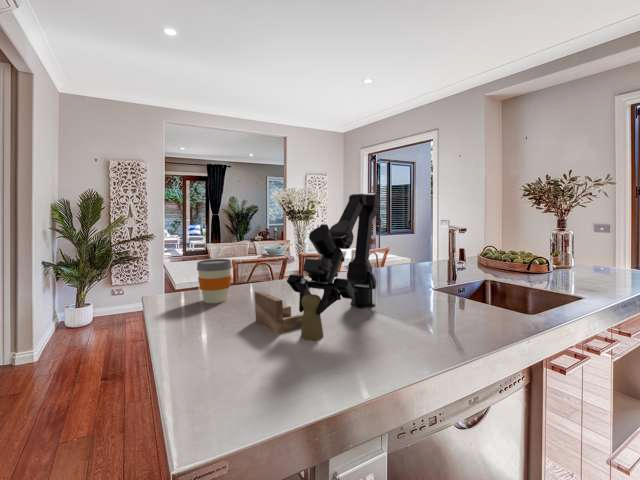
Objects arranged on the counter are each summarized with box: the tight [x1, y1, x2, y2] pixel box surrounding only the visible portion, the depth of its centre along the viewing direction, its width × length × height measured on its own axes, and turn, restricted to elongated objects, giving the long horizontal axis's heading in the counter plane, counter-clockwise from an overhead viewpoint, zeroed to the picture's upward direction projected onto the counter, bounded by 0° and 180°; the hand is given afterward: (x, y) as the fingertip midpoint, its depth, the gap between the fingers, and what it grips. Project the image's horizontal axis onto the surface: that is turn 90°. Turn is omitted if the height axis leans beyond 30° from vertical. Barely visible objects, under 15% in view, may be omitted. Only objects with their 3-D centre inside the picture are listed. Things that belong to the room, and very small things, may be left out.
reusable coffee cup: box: [196, 258, 232, 304], centre depth 129 cm, size 12×13×15 cm
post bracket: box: [254, 290, 303, 334], centre depth 101 cm, size 11×14×9 cm
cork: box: [300, 293, 324, 341], centre depth 90 cm, size 6×6×11 cm
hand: (308, 313), depth 89 cm, fingers closed on cork, 5 cm apart
